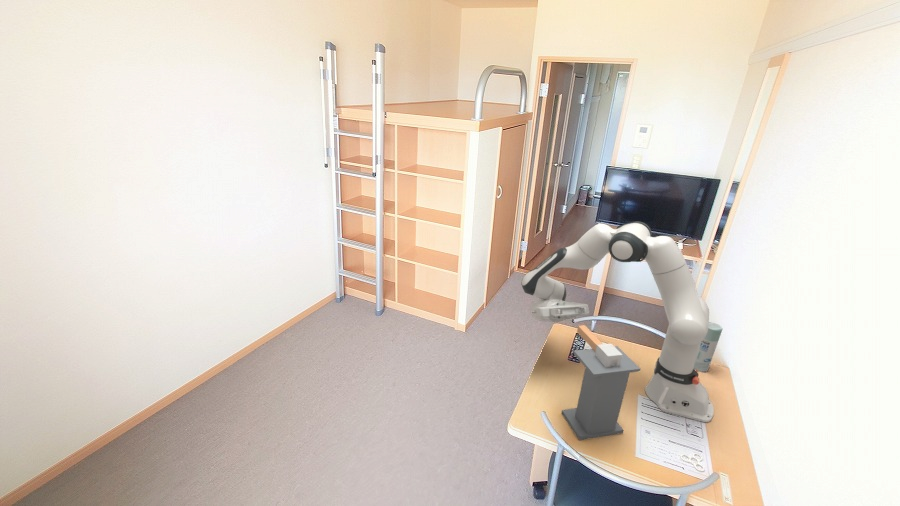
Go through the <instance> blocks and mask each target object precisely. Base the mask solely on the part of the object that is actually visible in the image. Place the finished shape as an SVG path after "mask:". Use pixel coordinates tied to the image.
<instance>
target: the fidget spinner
mask: <svg viewBox="0 0 900 506" xmlns="http://www.w3.org/2000/svg"><path fill="white" fill-rule="evenodd" d="M685 456H686V458H687V459H685V458H683V457H685ZM696 456H697V457H699V458H697V457H696ZM679 458H680V460H681V461H683V462H684V461H685V463H689V464H691V465H693V468H694V470H696V471H698V472H699V473H704V472H705V471H706V470H705V469H706V468H705V467H704V466H703V465H702V464H701V462H703V460H704V459H703V457H702V455H701V454H699V453H696V452H694V453H692V454H691V455H688V454H686V453H685V454H684V453H682V454H680V455H679ZM693 460H695V461H696V462H694V461H693ZM697 466H698V467H701V468H698V467H697Z"/></svg>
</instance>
